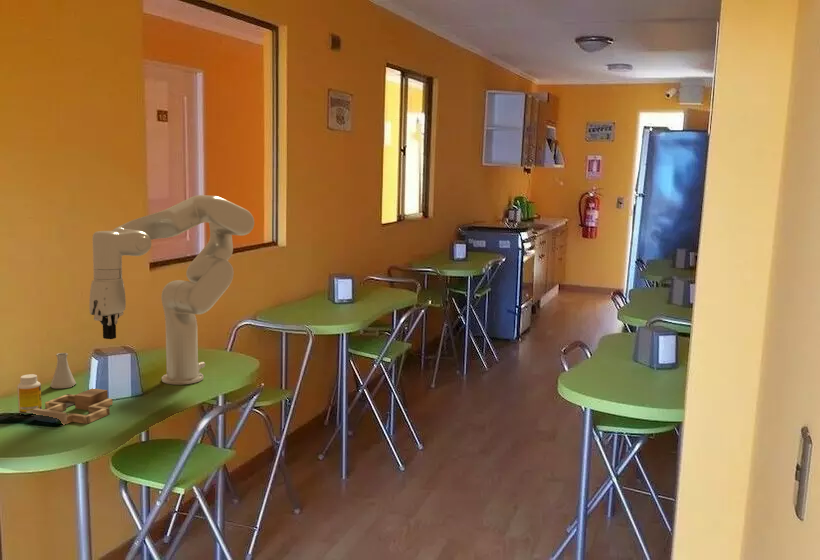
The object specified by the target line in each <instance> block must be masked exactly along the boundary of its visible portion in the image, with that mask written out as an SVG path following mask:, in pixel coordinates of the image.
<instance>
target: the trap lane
mask: <svg viewBox="0 0 820 560" xmlns="http://www.w3.org/2000/svg"><path fill="white" fill-rule="evenodd" d="M75 395H76V394H73V393H72V394H70V393H66V394H65V395H64V394H63V395H61V396H58V397H56V398H53V399H50V400H47V401H45V402H44V409H43V408H42V409H38V408H35V409H33V414H36V415H43V416H49V417H53V418H57V419H59V420H60V421H61V423H62V424H63V425H62V426H65V424H66V425H67V424H70V423H73V422H74V423H78V424H85V425H86V424H87V425H88V424H91V423H93V422H95V421H97V420H99V419H102V418H104V417H106V416H109V415H110V414H111V411H110V407H111V406H110V405H112V404H114V403H113V398H109V397H108V399H106V400H104V401H101V402H99V403H96V404H93V405H91V406H88V410H87V413H88V414H79V413H73V412H71V413H68V414H67V412H65V411H66V410H67V408H69V407H72V406H75ZM112 406H113V405H112Z"/></svg>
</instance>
